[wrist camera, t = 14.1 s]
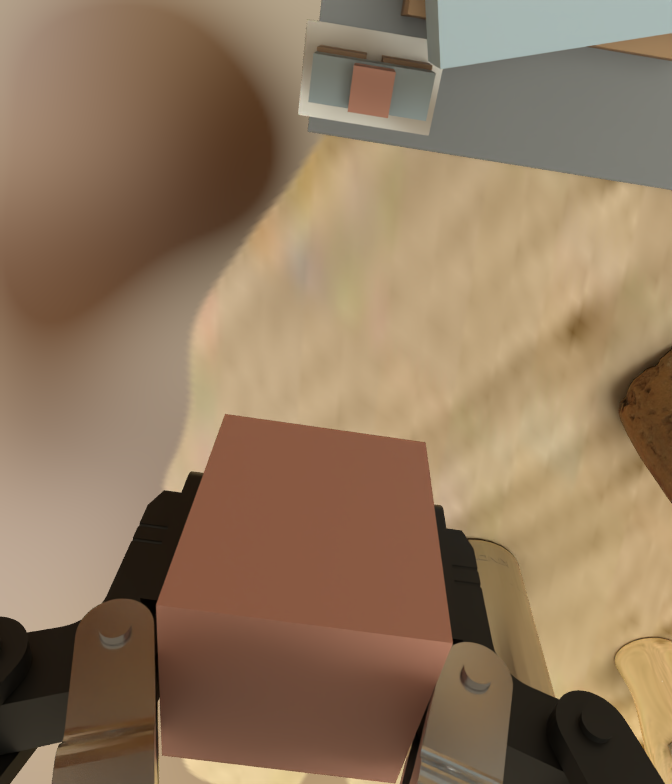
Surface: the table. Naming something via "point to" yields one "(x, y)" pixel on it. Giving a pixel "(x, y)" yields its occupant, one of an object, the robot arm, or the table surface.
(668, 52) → the base cube
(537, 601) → the table surface
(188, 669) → the terracotta cube
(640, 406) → the block
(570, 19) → the lintel
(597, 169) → the grey flat sheet
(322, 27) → the model
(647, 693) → the beer glass
